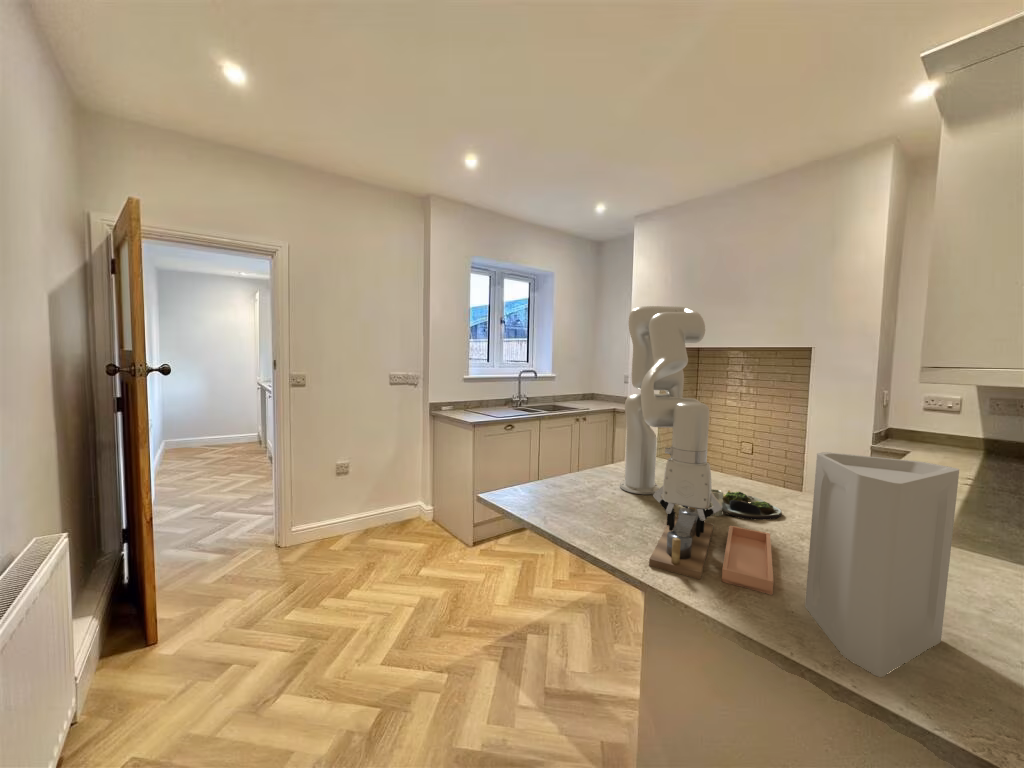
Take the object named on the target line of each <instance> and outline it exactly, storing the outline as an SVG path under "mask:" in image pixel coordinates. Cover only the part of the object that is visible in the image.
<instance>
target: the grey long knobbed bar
mask: <svg viewBox="0 0 1024 768" xmlns="http://www.w3.org/2000/svg"><path fill="white" fill-rule="evenodd" d="M698 516H699V515H698V511H697V510H694V509H690V508H689V507H688V508H685V507H683V508H679V509H678V517H679V518H678V520H677V522H676V525H675V527H674V529H673V531H670V532H668V533H667V550H666V552H667V554H668V555H669V556H671V557H672V539H673V538H678V539H680V540H681V546H680V559H689V558H691V548H692V540H693V537H694V534H695V532H696V526H697V518H698Z"/></svg>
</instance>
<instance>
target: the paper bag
mask: <svg viewBox="0 0 1024 768" xmlns="http://www.w3.org/2000/svg"><path fill="white" fill-rule="evenodd" d="M959 478H960V469H959V468H957V467H952V466H946V465H941V464H936V463H931V462H926V461H917V460H908V459H899V458H898V459H897V458H887V457H880V456H879V457H878V456H871V455H870V456H869V455H859V454H857V455H856V454H847V453H838V452H830V451H828V452H827V451H825V452H824V451H822V452H817V453H816V462H815V474H814V488H813V501H812V512H811V524H810V536H809V537H810V538H809V551H808V564H807V576H806V589H805V600H804V601H805V602H804V607H806V608H805V609H806V611H807V612H808V611H809V612H808V613H809V614H810V615H811V617H812V618H813V619H814V621H815V622H816V624H817V625H818V626H819V627H820V629H821V630H822V631H823V632H824V634H825V635H826V636H827V637H828V639H829V640H830V642H831V643H832V644H833V645H834V647H835V646H836V647H835V648H836V649H837V651H838V650H839V651H840V652H839V651H838V652H839V654H841V656H842V655H843V656H842V657H843V658H845V659H846V658H847V659H846V660H848V659H849V660H850V661H849V660H848V661H849V662H851V661H852V662H851V663H853V662H854V663H855V664H854V663H853V664H854V665H856V664H857V665H856V666H858V665H859V666H861V667H862V668H861V667H860V668H861V669H863V668H864V669H866V670H867V671H866V670H865V671H866V672H868V671H869V672H868V673H870V672H871V673H870V674H872V675H874V676H875V677H879V678H883V677H882V676H884V677H886V676H887V675H886V674H887V673H889V672H890V671H892V670H893V669H895V668H897V667H899V666H901V665H902V664H904V663H906V662H907V663H909V662H910V661H909V660H911V659H912V660H914V659H915V657H916V656H917V657H919V656H920V655H919V654H921V653H922V652H924V651H925V652H927V651H928V650H927V649H929V648H930V649H932V648H934V647H936V646H937V645H939V644H940V643H941V642H942V636H943V634H942V633H943V626H944V616H945V608H946V607H945V606H946V599H947V588H948V580H949V579H948V578H949V572H950V561H951V560H950V559H951V552H952V551H951V550H952V543H953V542H952V541H953V534H954V533H953V532H954V524H955V515H956V504H957V495H958V488H959V487H958V486H959ZM933 646H934V647H933ZM931 647H932V648H931ZM930 649H929V650H930ZM926 650H927V651H926ZM925 652H924V653H925ZM922 654H923V653H922ZM922 654H921V655H922ZM918 655H919V656H918ZM917 657H916V658H917ZM913 658H914V659H913ZM912 660H911V661H912ZM908 661H909V662H908ZM907 663H906V664H907ZM904 665H905V664H904ZM859 666H858V667H859ZM902 666H903V665H902ZM902 666H901V667H902ZM899 668H900V667H899ZM864 669H863V670H864ZM897 669H898V668H897ZM889 674H890V673H889ZM885 675H886V676H885Z"/></svg>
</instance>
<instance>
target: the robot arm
mask: <svg viewBox="0 0 1024 768" xmlns="http://www.w3.org/2000/svg"><path fill="white" fill-rule="evenodd" d="M628 316H629V317H628V330H629V336H630V338H631V342H632V360H631V385H632V386H633V388H635V389H637V390H640V393H634V394H631V395H629V396H628V397H627V398H626V399H625V403H624V412H625V422H626V437H625V438H626V439H625V440H626V441H625V443H626V445H625V462H624V463H625V464H624V465H625V467H624V480H621V481H620V482H619V488H621V490H622V491H625V492H628V493H631V494H637V495H652V496H653V498H654V499H655V500H656V502H658V503H659V504H660V506H661V507H662V508H663V510H665V513H666V514H667V515H666V526H667V525H669V531H673V528H674V525H675V516H676V511H675V509H674V507H675V505H677V506H681V507H683V506H686V507H688V508H689V507H692V508H697V511H698V515H699V516H698V518H697V526H696V536H697V537H700V534H701V533H704V522H706V519H708V518H709V517H711V516H713V515H712V514H713V513H716V512H718V511H720V510H721V509H722V505H721V503H720V502H719V501H718V500H717V498H716V497H715V496H714V494H713V493H712V492H711V491H712V489H713V488H712V472H711V471H712V470H711V464H710V463H709V462H708V461H707V459H708V443H709V426H710V407H709V406H708V405H707V404H706V403H704V402H700V400H698V399H697V398H694V397H683V394H684V386H685V385H684V384H685V374H684V369H685V367H686V366H688V362H689V357H688V353H687V352H688V351H687V347H686V344H697V343H700V342H701V341H702V340H703V339H704V336H705V333H706V323H705V321H704V318H703V316H702V315H701V314H700V313H699V312H698V311H695V310H693V309H692V308H689V307H686V306H665V305H664V306H663V305H661V306H660V305H655V306H654V305H647V306H646V305H645V306H637V307H636V308H635V307H634V308H633V309H632V310H631V311H630V313H629V315H628ZM655 391H664V392H665V393H655ZM652 428H668V429H669V428H670V429H671V428H672V436H671V437H672V438H671V439H672V440H671V446H670V447H665V449H664V454H668V455H669V456H670V457H669V458H668V459H667V461H666V463H665V464H666V465H665V469H664V477H663V483H662V485H661V487H660V485H658V484H657V483H655V482H656V466H657V463H656V461H657V443H658V442H657V439H658V438H657V434H656V433H655V431H654V430H653V429H652ZM710 501H711V503H712V504H713V506H712V507H710V508H708V507H709V506H710ZM707 508H708V509H707Z"/></svg>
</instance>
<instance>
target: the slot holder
mask: <svg viewBox="0 0 1024 768" xmlns="http://www.w3.org/2000/svg"><path fill="white" fill-rule="evenodd" d="M727 532H728V533H727V538H726V545H725V550H724V551H725V552H724V557H723V564H722V569H721V570H722V571H721V572H722V573H721V574H722V575H721V582H723V583H726V584H729V585H733V586H737V587H741V588H745V589H747V590H748V589H749V590H752V591H755V592H759V593H762V594H763V593H764V594H766V595H767V594H768V595H771V596H773V595H774V583H775V582H774V572H773V571H774V569H773V555H772V543H771V542H772V541H771V540H772V539H771V533H770V532H765V531H760V530H755V529H751V528H746V527H740V526H735V525H729V526H728V531H727Z"/></svg>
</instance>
